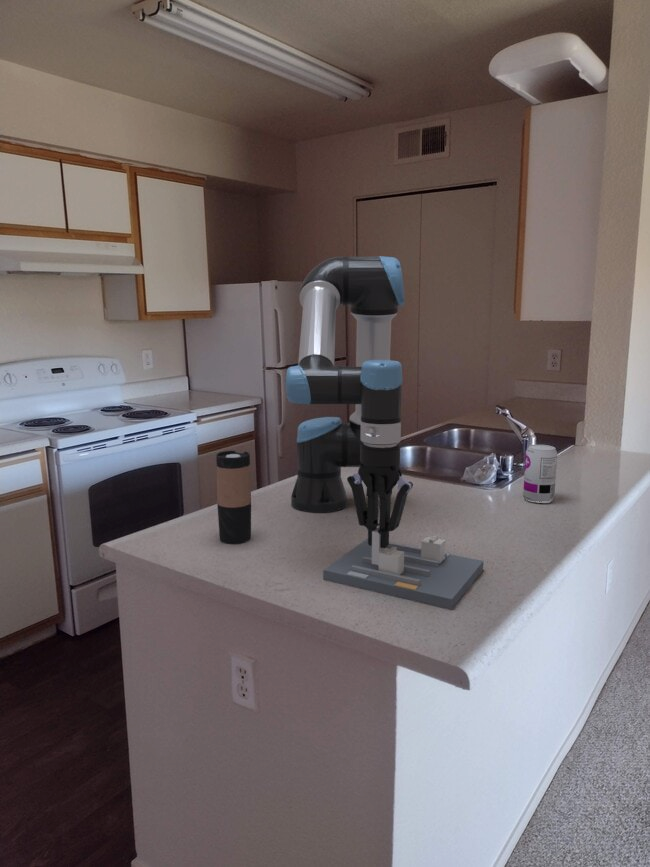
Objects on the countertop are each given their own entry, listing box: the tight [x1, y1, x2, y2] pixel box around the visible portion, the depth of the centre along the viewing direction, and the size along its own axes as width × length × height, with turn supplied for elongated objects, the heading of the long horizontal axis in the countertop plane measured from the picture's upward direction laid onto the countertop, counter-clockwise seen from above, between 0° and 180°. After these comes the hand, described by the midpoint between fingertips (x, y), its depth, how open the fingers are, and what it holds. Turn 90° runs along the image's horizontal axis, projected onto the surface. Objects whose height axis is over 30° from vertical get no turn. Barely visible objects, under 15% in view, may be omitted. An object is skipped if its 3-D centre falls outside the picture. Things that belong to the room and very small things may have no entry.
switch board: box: [322, 538, 484, 610], centre depth 129 cm, size 26×20×3 cm
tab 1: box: [378, 547, 404, 575], centre depth 124 cm, size 4×3×5 cm
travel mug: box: [215, 450, 252, 545], centre depth 147 cm, size 8×8×20 cm
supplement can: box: [522, 444, 558, 502], centre depth 177 cm, size 8×8×15 cm
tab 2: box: [420, 534, 446, 564], centre depth 130 cm, size 4×3×5 cm
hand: (378, 562), depth 126 cm, fingers closed
